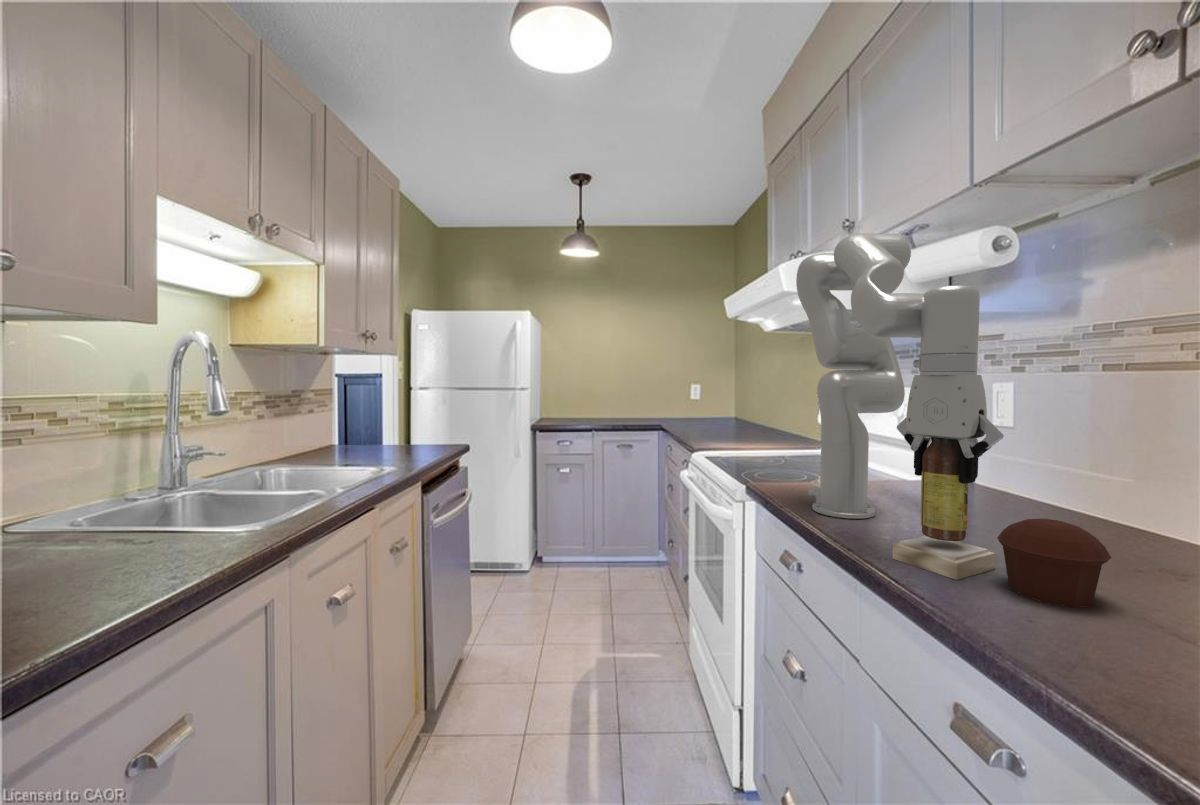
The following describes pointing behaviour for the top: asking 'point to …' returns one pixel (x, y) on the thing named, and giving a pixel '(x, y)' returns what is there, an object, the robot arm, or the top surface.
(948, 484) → the sauce bottle
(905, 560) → the birch riser
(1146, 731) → the top surface
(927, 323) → the robot arm
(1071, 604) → the muffin
